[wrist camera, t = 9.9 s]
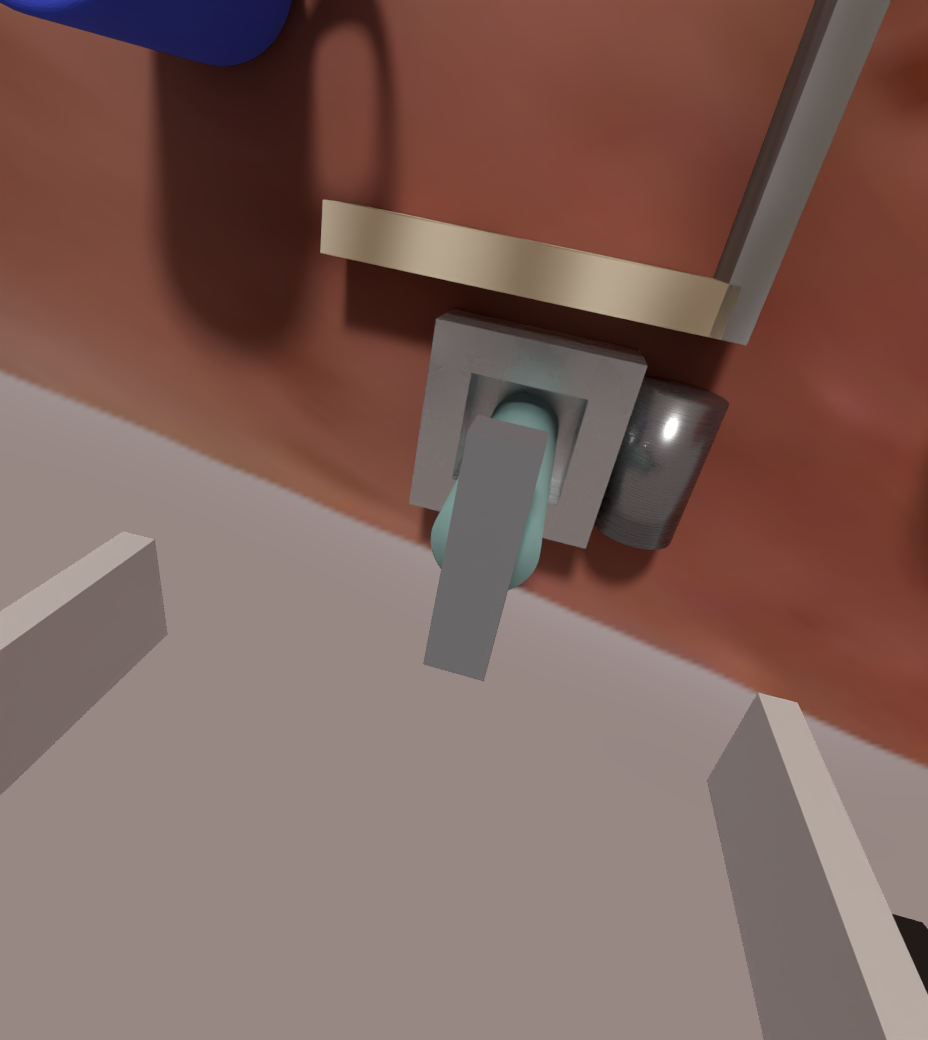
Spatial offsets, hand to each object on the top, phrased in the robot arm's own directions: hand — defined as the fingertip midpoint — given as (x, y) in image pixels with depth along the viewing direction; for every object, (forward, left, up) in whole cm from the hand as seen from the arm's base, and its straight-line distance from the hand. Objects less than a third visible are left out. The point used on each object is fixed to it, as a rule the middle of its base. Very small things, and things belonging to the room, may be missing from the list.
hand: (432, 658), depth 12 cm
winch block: (+2, 0, -18) cm, 19 cm away
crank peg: (0, 0, -18) cm, 18 cm away
